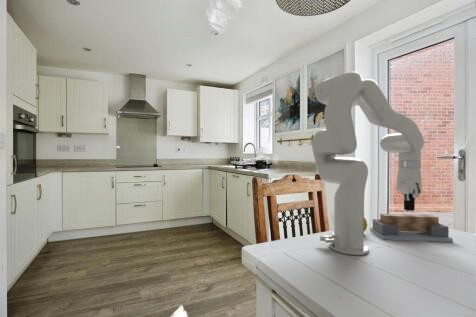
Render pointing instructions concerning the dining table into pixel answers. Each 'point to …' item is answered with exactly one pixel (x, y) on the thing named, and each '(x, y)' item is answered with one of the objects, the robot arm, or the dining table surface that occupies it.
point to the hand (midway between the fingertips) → (409, 210)
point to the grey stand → (393, 232)
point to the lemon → (365, 224)
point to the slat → (410, 221)
